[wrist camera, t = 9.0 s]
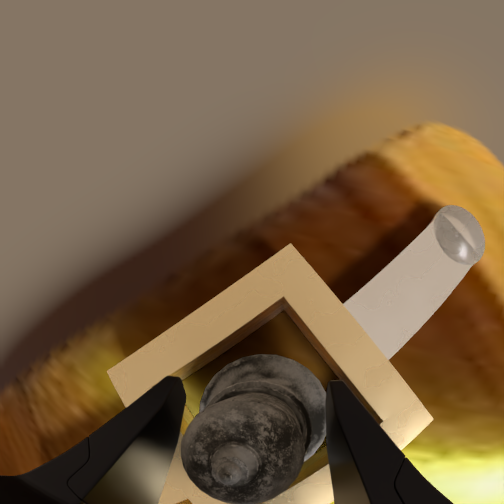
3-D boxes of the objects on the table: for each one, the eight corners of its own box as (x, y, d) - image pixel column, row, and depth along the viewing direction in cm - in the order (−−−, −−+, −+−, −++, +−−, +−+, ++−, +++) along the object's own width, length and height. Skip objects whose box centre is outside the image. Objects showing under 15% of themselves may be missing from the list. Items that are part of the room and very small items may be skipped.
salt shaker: (203, 375, 16) (58, 358, 5) (301, 343, 16) (331, 270, 5) (235, 466, 13) (146, 585, 3) (334, 435, 14) (422, 532, 3)
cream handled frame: (243, 525, 11) (239, 536, 10) (132, 373, 16) (120, 372, 15) (510, 285, 15) (522, 278, 14) (410, 171, 20) (416, 159, 18)
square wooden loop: (113, 560, 10) (93, 575, 7) (31, 436, 14) (5, 437, 12) (411, 413, 13) (433, 419, 11) (290, 264, 18) (290, 243, 15)
